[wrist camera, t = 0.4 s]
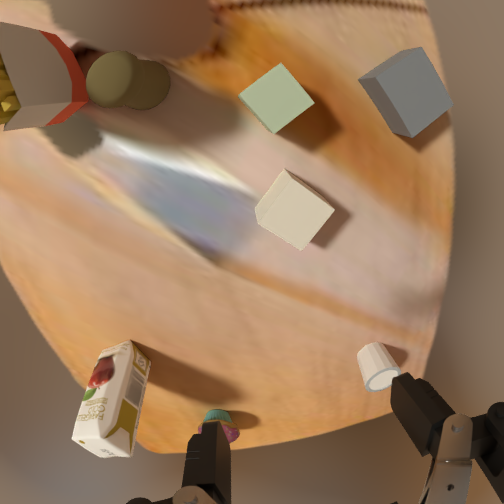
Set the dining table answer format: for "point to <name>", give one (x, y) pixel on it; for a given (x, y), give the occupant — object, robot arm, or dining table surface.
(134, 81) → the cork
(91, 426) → the juice carton
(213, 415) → the cupcake
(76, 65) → the french fries container
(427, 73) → the slate block
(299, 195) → the cream block
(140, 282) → the dining table surface
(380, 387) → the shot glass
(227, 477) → the robot arm
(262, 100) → the sage block
